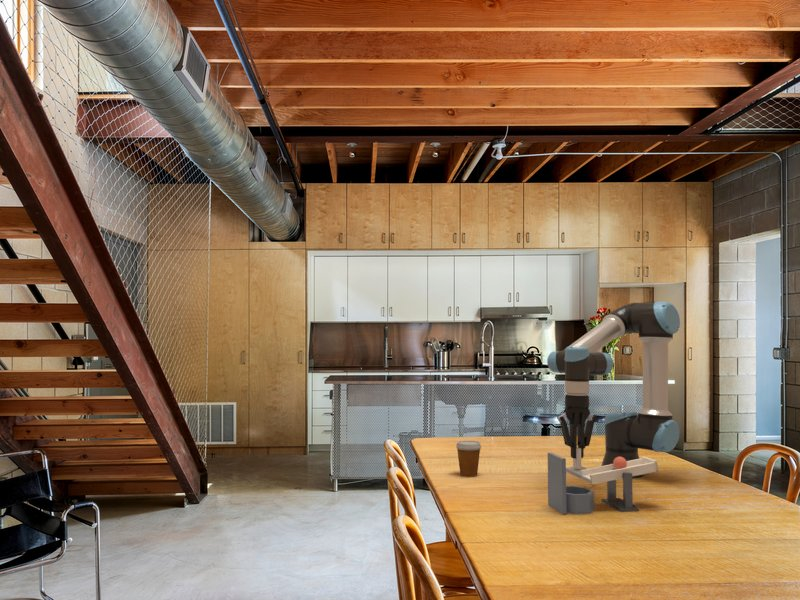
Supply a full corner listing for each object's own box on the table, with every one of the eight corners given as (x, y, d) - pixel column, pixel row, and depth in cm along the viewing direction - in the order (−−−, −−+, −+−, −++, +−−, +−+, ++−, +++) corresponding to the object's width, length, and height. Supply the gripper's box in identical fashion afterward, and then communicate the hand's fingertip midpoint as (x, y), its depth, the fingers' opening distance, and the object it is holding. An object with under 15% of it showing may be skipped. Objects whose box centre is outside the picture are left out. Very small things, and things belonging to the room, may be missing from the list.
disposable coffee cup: (480, 478, 226) (480, 445, 227) (454, 477, 228) (454, 444, 229) (482, 472, 236) (482, 440, 236) (457, 471, 238) (457, 440, 238)
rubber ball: (608, 460, 193) (615, 471, 193) (615, 463, 189) (622, 473, 189) (617, 452, 193) (624, 463, 194) (624, 455, 189) (631, 465, 190)
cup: (582, 503, 194) (581, 451, 195) (599, 512, 183) (598, 457, 184) (547, 504, 191) (547, 452, 192) (563, 514, 181) (562, 459, 182)
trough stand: (619, 501, 196) (618, 465, 197) (638, 510, 185) (638, 473, 186) (601, 501, 195) (601, 466, 196) (620, 511, 184) (619, 474, 185)
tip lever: (626, 461, 207) (625, 450, 207) (658, 472, 189) (657, 460, 189) (566, 472, 202) (564, 461, 202) (593, 485, 185) (591, 473, 185)
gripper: (589, 393, 205) (590, 465, 204) (553, 393, 203) (553, 466, 201) (601, 395, 198) (601, 470, 196) (563, 395, 195) (563, 471, 194)
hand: (577, 468), depth 199 cm, fingers closed
